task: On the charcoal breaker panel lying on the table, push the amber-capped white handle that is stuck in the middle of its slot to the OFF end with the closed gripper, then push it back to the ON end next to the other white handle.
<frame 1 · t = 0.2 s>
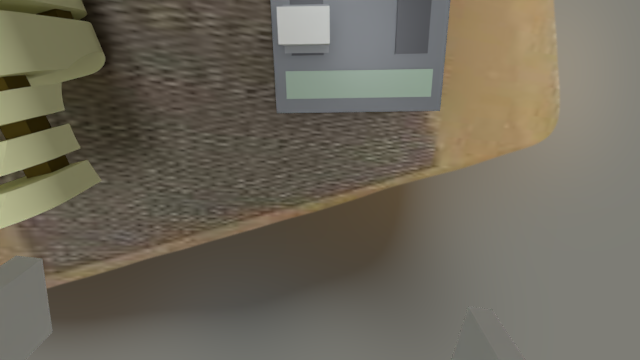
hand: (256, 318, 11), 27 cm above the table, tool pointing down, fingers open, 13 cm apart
slatted curved stool: (18, 14, 34), on the table
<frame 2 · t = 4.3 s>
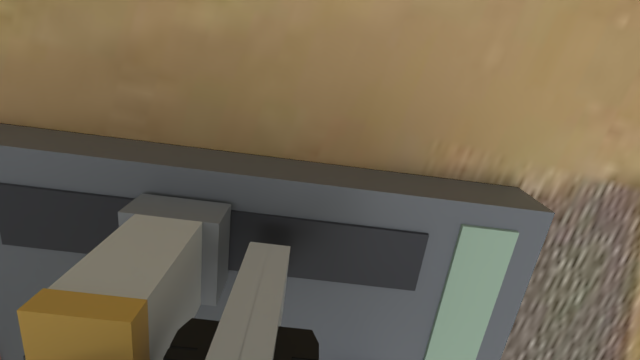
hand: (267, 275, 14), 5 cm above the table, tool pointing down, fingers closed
tripped handle: (148, 289, 12), point 7 cm above the table, slide at -1.1 cm, touching gripper
breaker panel: (227, 283, 20), on the table
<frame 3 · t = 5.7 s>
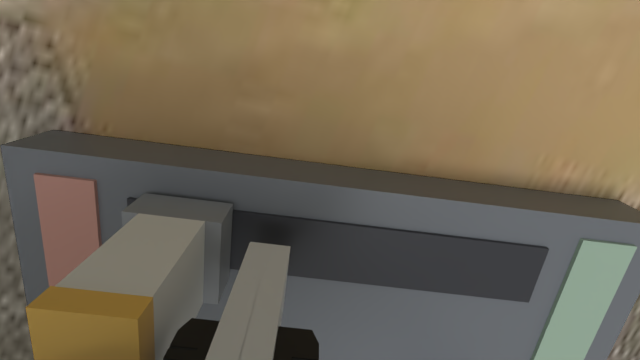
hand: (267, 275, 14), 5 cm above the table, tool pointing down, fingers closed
tripped handle: (152, 287, 12), point 7 cm above the table, slide at -6.4 cm, touching gripper
breaker panel: (323, 293, 20), on the table
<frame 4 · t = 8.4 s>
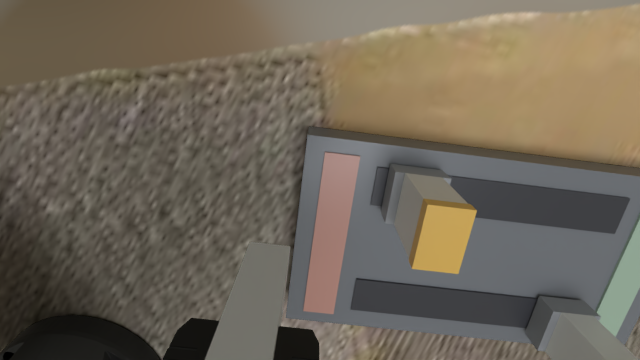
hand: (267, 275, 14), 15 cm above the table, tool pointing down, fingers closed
tripped handle: (424, 212, 22), point 7 cm above the table, slide at -6.4 cm
breaker panel: (466, 236, 30), on the table
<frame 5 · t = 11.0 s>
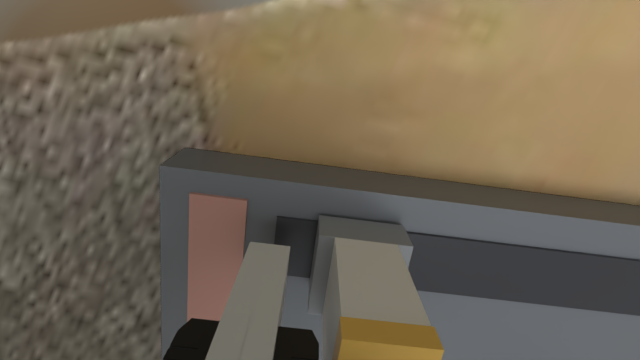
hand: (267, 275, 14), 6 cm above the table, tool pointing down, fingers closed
tripped handle: (363, 310, 13), point 7 cm above the table, slide at -5.4 cm, touching gripper
breaker panel: (430, 305, 21), on the table
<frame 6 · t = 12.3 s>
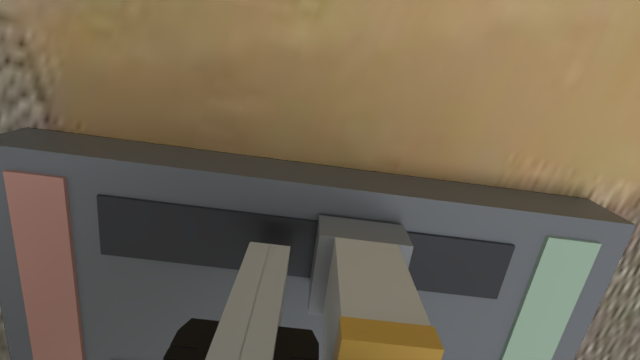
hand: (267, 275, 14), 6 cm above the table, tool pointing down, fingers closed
tripped handle: (363, 310, 13), point 7 cm above the table, slide at 2.1 cm, touching gripper
breaker panel: (299, 291, 20), on the table
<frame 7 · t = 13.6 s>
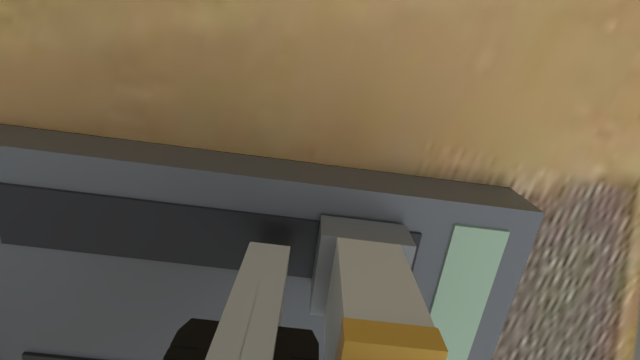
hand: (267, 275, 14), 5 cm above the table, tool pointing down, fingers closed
tripped handle: (366, 311, 12), point 7 cm above the table, slide at 6.4 cm, touching gripper
breaker panel: (224, 282, 20), on the table
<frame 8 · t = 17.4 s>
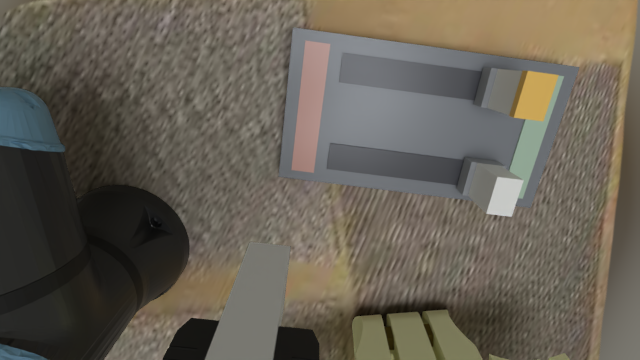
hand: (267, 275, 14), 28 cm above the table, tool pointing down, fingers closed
tripped handle: (514, 92, 32), point 7 cm above the table, slide at 6.4 cm
slatted curved stool: (400, 346, 51), on the table
breaker panel: (414, 119, 40), on the table
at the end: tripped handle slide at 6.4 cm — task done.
